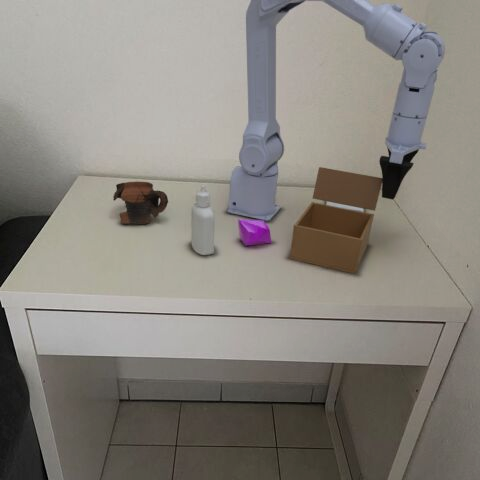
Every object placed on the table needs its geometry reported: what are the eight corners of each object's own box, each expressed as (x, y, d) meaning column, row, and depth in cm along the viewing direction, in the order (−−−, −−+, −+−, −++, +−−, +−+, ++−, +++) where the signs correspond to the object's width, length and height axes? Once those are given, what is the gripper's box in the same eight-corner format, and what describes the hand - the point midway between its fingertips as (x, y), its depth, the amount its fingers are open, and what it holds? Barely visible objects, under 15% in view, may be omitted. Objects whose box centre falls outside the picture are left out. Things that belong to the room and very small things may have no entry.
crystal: (253, 251, 91) (254, 228, 88) (233, 240, 94) (235, 217, 91) (273, 243, 94) (275, 221, 91) (253, 233, 97) (255, 211, 94)
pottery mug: (105, 226, 97) (102, 183, 96) (130, 229, 106) (127, 189, 105) (160, 220, 93) (157, 175, 93) (181, 224, 102) (178, 183, 101)
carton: (307, 232, 98) (311, 201, 95) (367, 245, 95) (374, 214, 91) (289, 258, 89) (293, 225, 85) (355, 273, 86) (362, 240, 82)
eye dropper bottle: (215, 242, 93) (217, 180, 86) (213, 257, 88) (215, 192, 81) (192, 241, 93) (192, 179, 86) (189, 255, 88) (188, 190, 81)
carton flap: (312, 198, 94) (312, 198, 94) (374, 210, 91) (374, 210, 91) (319, 166, 92) (319, 167, 93) (383, 178, 89) (383, 178, 89)
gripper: (430, 127, 77) (408, 209, 85) (436, 109, 88) (416, 182, 96) (385, 120, 79) (367, 201, 87) (397, 103, 90) (380, 176, 98)
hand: (391, 191), depth 92 cm, fingers open, 7 cm apart
